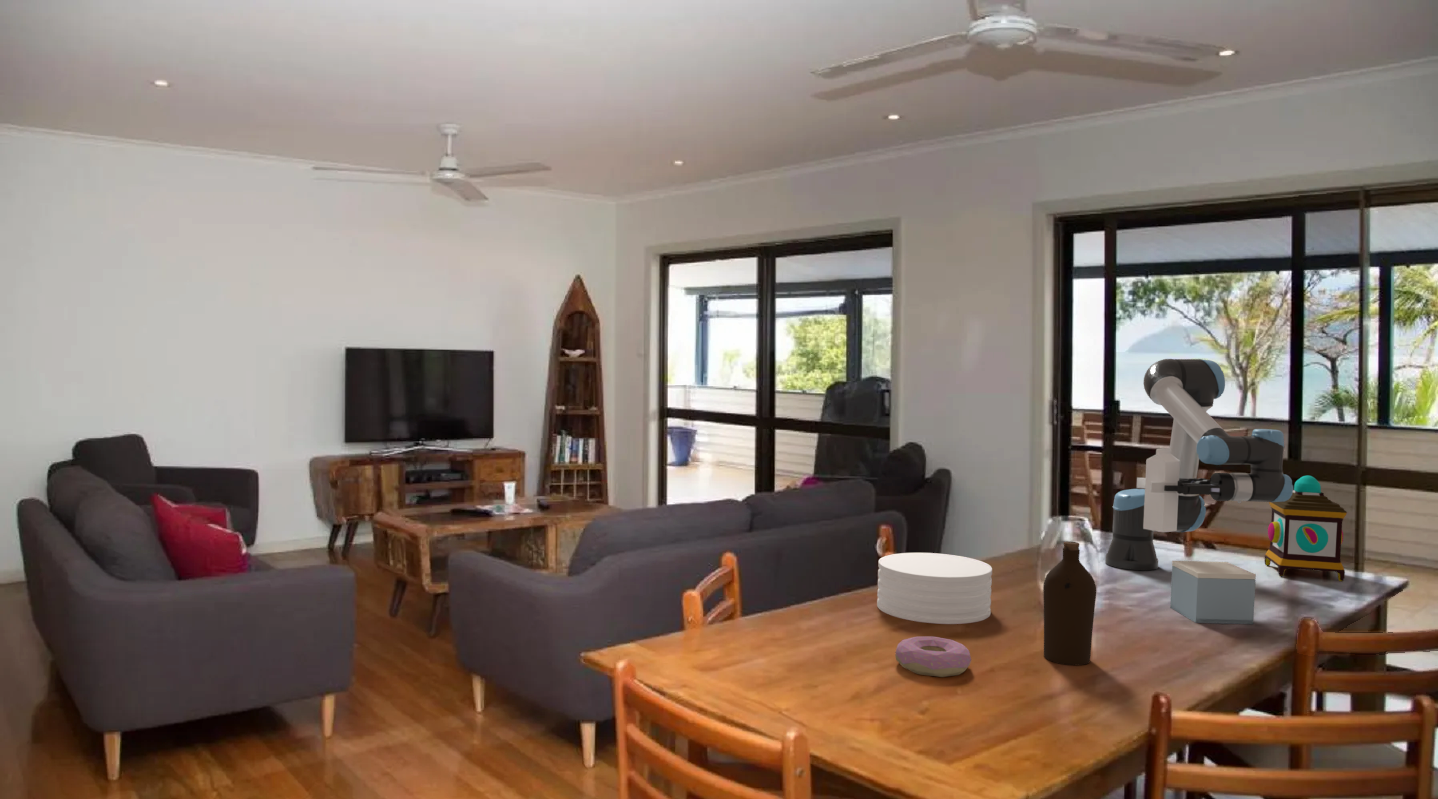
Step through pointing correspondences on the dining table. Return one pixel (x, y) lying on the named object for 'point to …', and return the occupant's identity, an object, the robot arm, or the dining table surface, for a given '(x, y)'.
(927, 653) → the donut
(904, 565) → the plate stack
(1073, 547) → the olive oil
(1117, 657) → the dining table surface
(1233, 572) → the lid
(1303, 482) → the decorative lantern
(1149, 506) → the milk
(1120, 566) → the robot arm
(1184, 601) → the box
